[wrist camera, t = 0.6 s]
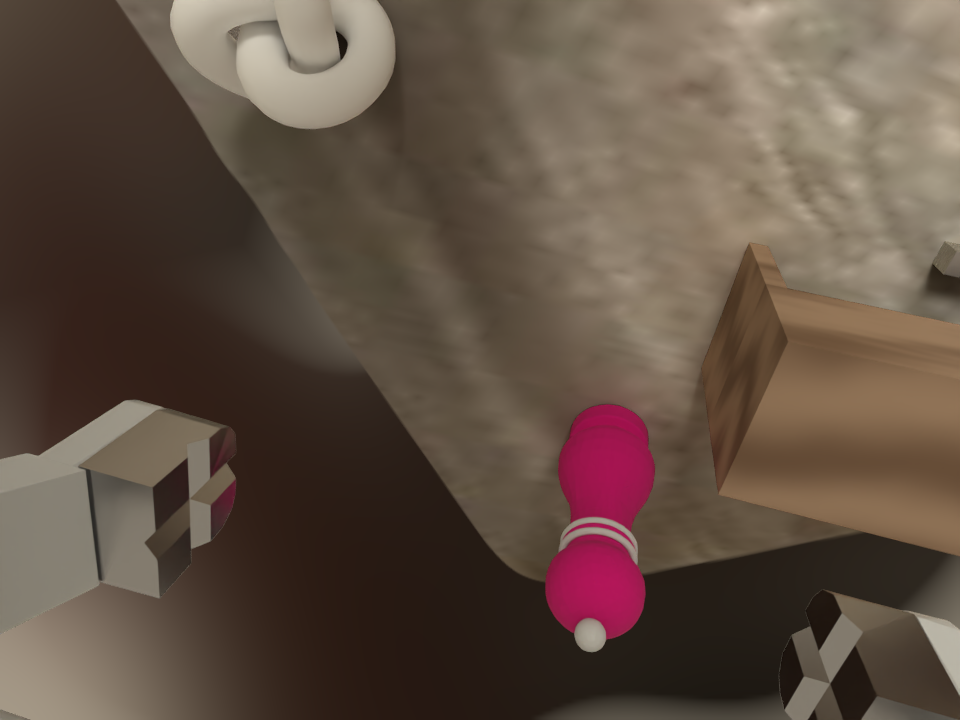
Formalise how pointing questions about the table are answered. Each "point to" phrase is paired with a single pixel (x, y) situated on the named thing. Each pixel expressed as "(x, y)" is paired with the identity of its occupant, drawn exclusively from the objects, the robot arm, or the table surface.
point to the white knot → (291, 54)
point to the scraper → (948, 259)
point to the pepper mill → (601, 526)
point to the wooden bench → (835, 409)
